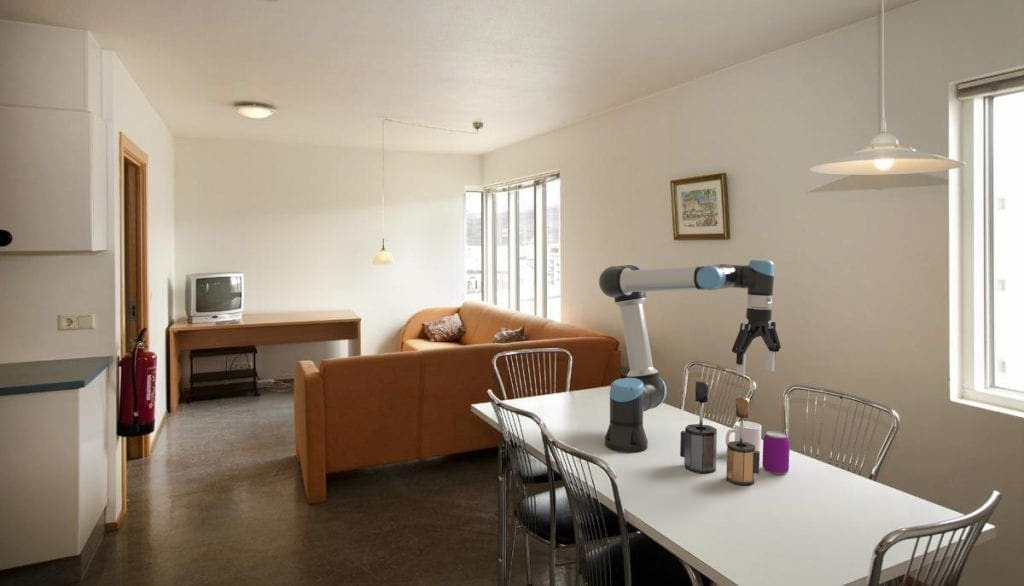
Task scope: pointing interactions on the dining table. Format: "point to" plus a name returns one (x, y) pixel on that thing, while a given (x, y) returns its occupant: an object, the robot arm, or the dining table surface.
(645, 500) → the dining table surface
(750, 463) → the carafe
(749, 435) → the cup
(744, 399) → the plunger
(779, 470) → the beverage can
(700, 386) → the plunger
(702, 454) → the carafe
